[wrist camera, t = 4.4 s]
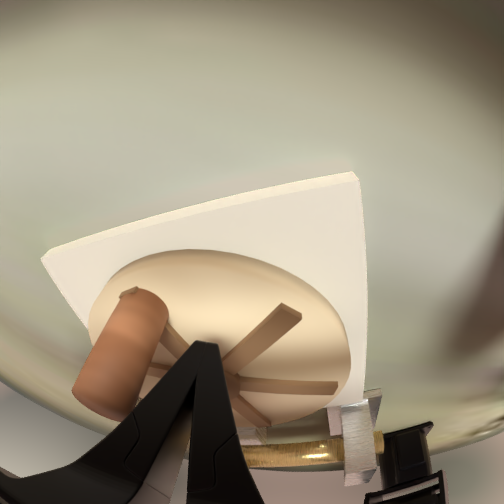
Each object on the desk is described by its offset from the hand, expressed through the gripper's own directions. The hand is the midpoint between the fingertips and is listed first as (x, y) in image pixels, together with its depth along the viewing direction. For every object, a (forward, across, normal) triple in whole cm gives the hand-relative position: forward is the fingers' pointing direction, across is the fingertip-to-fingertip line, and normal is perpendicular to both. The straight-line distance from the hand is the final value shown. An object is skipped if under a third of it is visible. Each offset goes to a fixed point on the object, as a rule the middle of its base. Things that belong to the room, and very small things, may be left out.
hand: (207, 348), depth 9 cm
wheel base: (+4, 0, +4) cm, 6 cm away
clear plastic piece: (+4, -7, +14) cm, 16 cm away
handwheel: (+3, 0, +4) cm, 5 cm away
